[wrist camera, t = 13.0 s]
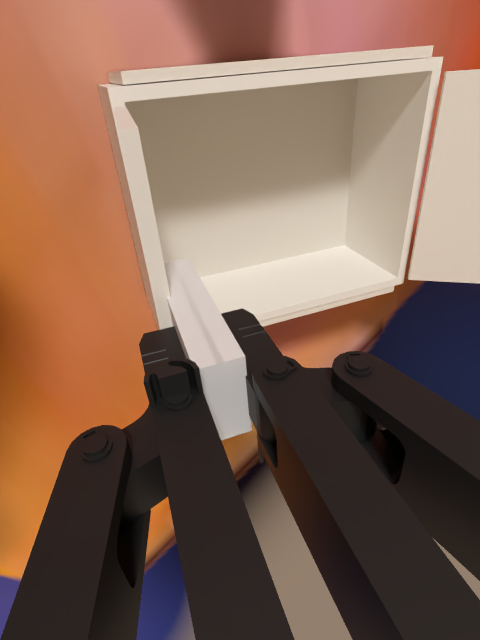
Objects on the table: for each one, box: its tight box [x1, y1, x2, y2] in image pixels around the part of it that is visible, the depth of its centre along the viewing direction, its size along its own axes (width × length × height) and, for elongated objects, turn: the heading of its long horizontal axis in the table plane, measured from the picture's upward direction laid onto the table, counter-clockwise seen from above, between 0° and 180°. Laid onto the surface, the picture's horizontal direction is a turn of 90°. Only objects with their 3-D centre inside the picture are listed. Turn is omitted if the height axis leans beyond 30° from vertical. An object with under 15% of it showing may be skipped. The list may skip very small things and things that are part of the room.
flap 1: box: [113, 106, 173, 329], centre depth 17 cm, size 9×13×1 cm
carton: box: [98, 45, 443, 330], centre depth 26 cm, size 18×15×8 cm
